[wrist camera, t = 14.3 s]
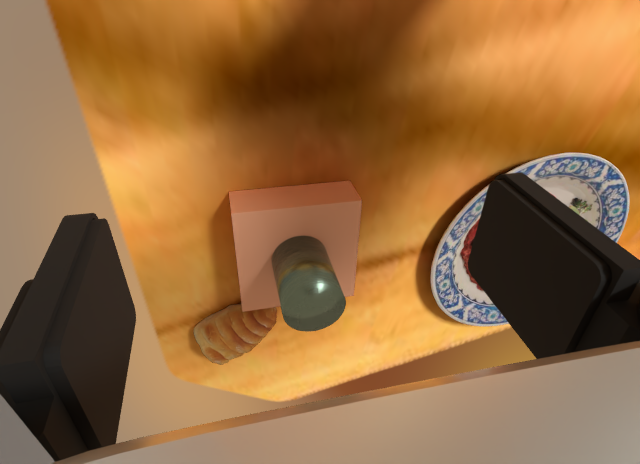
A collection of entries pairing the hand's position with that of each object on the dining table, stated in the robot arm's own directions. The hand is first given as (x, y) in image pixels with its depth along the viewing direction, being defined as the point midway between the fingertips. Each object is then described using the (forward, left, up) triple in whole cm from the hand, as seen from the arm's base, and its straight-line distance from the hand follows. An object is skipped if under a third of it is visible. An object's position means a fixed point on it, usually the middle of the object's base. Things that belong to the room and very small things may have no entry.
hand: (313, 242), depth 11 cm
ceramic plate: (-33, +25, -29) cm, 50 cm away
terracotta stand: (-4, +20, -28) cm, 35 cm away
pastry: (+3, +32, -29) cm, 43 cm away
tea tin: (-4, +20, -24) cm, 32 cm away
